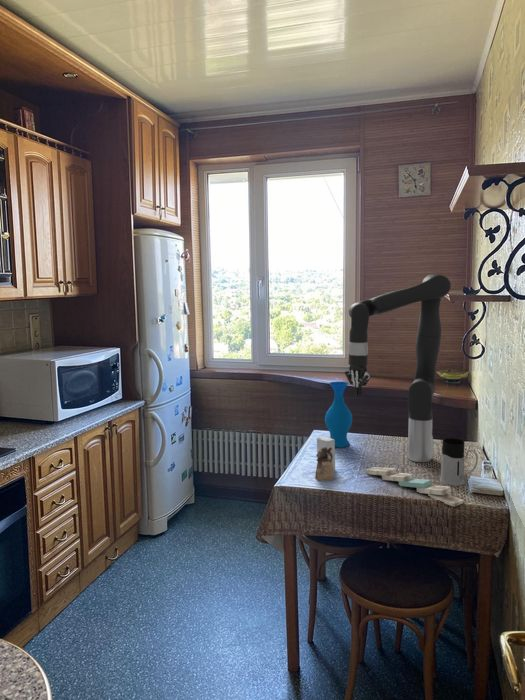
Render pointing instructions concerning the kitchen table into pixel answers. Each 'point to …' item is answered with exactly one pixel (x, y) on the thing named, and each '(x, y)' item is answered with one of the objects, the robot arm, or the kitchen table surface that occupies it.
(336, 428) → the vase
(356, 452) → the kitchen table surface
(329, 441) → the skincare box
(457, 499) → the domino
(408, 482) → the domino
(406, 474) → the domino
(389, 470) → the domino
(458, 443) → the grey black pitcher
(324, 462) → the figurine
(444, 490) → the domino
